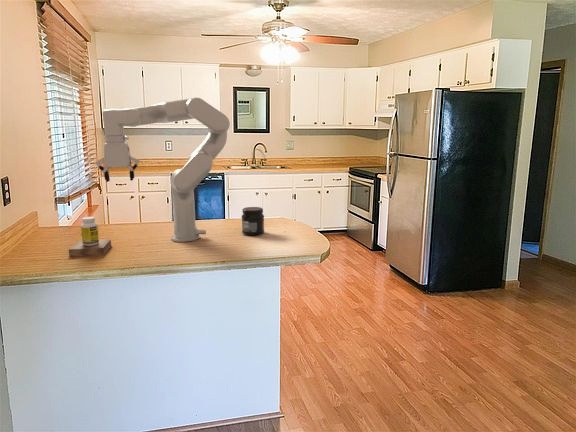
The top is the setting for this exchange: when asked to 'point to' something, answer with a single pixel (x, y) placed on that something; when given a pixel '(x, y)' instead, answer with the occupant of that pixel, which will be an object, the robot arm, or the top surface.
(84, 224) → the pill bottle
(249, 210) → the supplement container
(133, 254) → the top surface
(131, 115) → the robot arm
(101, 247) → the walnut base
